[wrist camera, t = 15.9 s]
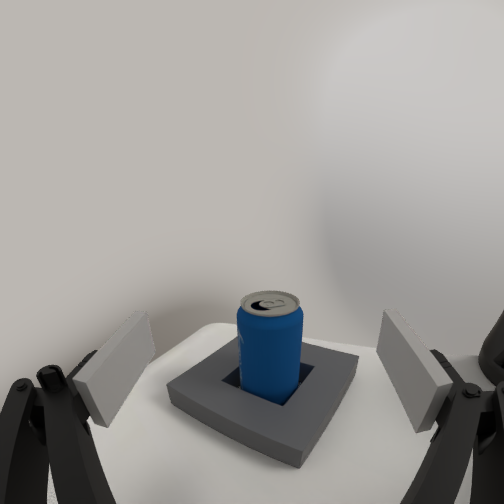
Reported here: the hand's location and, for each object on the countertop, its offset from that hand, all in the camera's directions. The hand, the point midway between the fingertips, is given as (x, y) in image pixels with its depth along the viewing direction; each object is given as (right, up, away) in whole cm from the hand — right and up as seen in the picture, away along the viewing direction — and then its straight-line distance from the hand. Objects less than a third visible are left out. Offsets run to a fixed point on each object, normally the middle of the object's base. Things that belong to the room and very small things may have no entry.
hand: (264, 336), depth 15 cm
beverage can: (+1, -12, +15) cm, 19 cm away
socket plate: (+1, -12, +15) cm, 19 cm away
